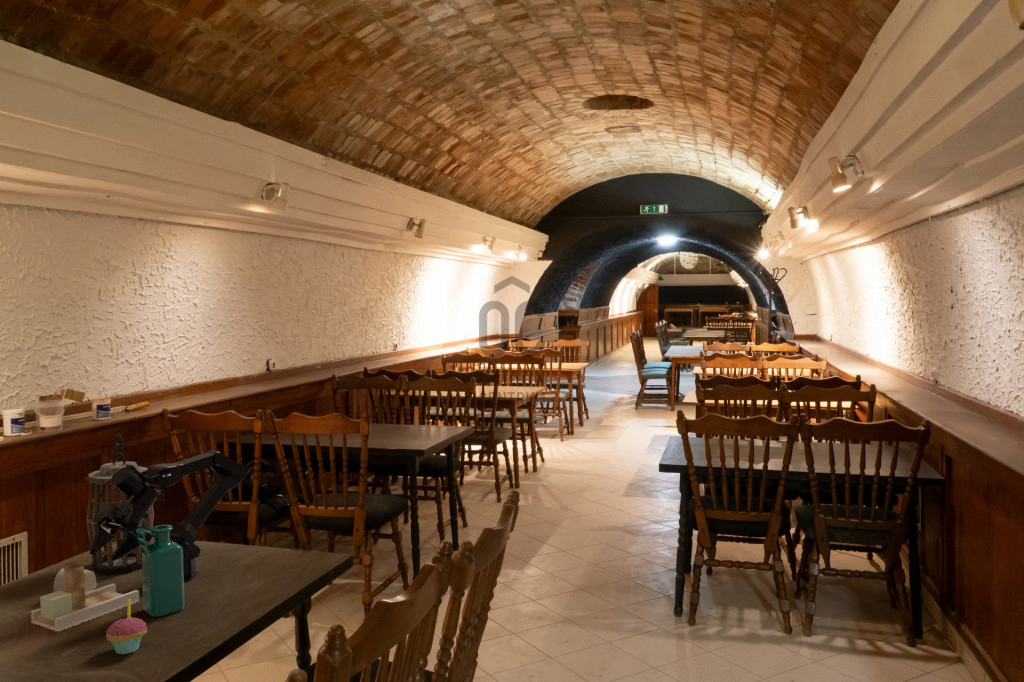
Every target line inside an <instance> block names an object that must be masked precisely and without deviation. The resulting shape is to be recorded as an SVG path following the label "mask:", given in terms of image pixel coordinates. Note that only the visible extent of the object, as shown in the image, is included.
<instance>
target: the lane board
mask: <svg viewBox="0 0 1024 682" xmlns="http://www.w3.org/2000/svg"><path fill="white" fill-rule="evenodd" d="M105 592H109V593H113V594H116V595H119V596H118V597H115V598H112V599H109V600H106V601H104V602H101V603H98V604H95V605H92V606H89V607H87V608H84V609H81V610H78V611H75V612H73V613H70V614H67V615H64V616H61V617H58V618H56V619H54V625H51V624H48V623H45V622H42V621H39V620H37V616H38V615H41V607H38V608H37V609H33V610H31V611H30V614H31V615H30V618H31V620H30V621H31V624H33V623H34V624H33V625H36V624H37V625H36V626H38V625H40V626H39V627H41V626H43V627H42V628H44V627H46V628H45V629H47V628H49V629H48V630H50V629H51V631H53V630H55V631H54V632H56V631H57V632H56V633H59V632H62V631H64V629H65V630H67V629H70V628H73V627H75V626H78V625H81V624H83V623H82V622H84V623H86V622H88V620H89V621H91V619H92V620H94V619H96V617H97V618H100V617H102V616H105V615H108V614H111V613H113V612H116V611H118V609H119V610H121V609H123V607H124V608H126V606H127V607H128V599H129V595H130V599H131V604H132V605H134V603H135V604H137V603H136V602H138V603H139V602H140V591H139V590H137V589H135V590H132V591H130V592H127V593H120V592H117V584H116V583H110V584H108V585H104V586H101V587H98V588H94V590H92V591H89V592H86V593H85V599H87V598H90V597H93V596H96V595H99V594H102V593H105ZM110 612H111V613H110ZM104 614H105V615H104ZM99 616H100V617H99ZM93 618H94V619H93ZM85 621H86V622H85ZM80 623H81V624H80ZM72 626H73V627H72ZM61 630H62V631H61ZM58 631H59V632H58Z"/></svg>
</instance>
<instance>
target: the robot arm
mask: <svg viewBox="0 0 1024 682" xmlns="http://www.w3.org/2000/svg"><path fill="white" fill-rule="evenodd" d="M146 468H147V470H145V471H143V472H139V471H138V470H137V469H136V468H135V467H134V466H133V465H129V464H127V466H126V467H125V468H122V469H120V470H119V471H118V472H117V473H115V474H114V475H113V476H112V478H111V486H113V487H114V488H115V487H116V488H117V489H118V490H119V491H121V492H122V493H123V494H124V495H126V497H129V499H128V500H129V501H128V503H125V502H119V503H118V504H117V505H115V504H110V503H105V502H103V503H102V505H100V508H99V510H98V514H105V515H107V516H103V515H98V516H95V518H94V519H93V520H92V522H91V523H93V527H94V528H95V537H94V540H93V543H92V546H91V545H90V550H89V555H91V556H92V555H94V554H95V553H96V552H98V551H99V550H100V549H101V550H102V548H104V545H105V544H107V543H108V542H109V541H110V540H111V539H114V538H115V537H114V535H115V534H116V533H117V531H120V532H123V539H122V541H121V542H120V544H119V546H118V547H117V546H116V549H115V551H113V552H114V554H113V556H112V558H111V559H112V560H113V561H115V560H117V559H118V558H120V557H122V556H123V555H125V554H126V553H128V552H130V551H131V550H133V549H135V548H137V547H138V546H139V544H138V541H137V535H136V529H137V528H143V529H145V530H147V531H150V530H149V529H147V528H146V527H145V526H144V525H142V524H140V522H141V523H142V521H141V520H142V519H143V518H144V519H147V518H148V515H147V514H146V513H147V512H148V510H149V509H150V508H151V506H152V505H153V506H154V503H155V502H156V501H162V502H164V501H165V495H164V490H160V489H157V488H156V487H158V488H165V489H166V488H168V487H171V486H173V485H175V484H176V483H178V482H179V481H180V480H181V478H184V477H185V476H188V475H191V474H194V473H197V472H199V471H203V470H205V469H208V468H210V469H211V470H213V471H214V473H213V476H212V483H211V484H210V485H209V487H208V488H207V490H206V491H205V492H204V493H203V495H202V496H201V497H200V498H199V500H198V501H197V502H196V503H195V504H194V506H193V507H192V508H191V510H190V511H189V512H188V513H187V515H186V516H185V517H184V519H183V520H182V521H181V522H178V523H176V522H171V523H170V524H169V525H171V526H173V529H172V530H170V531H169V537H170V541H173V542H175V543H177V544H179V545H181V546H182V549H183V575H184V582H189V581H191V580H193V579H194V578H195V577H196V576H197V575H199V571H197V565H196V564H197V559H196V558H198V557H200V553H201V548H200V547H199V546H198V545H197V544H195V542H196V540H197V534H198V533H197V532H198V530H199V528H200V527H201V526H202V525H203V523H204V522H205V520H206V519H208V517H209V515H210V514H211V513H212V512H213V510H214V509H215V507H216V506H217V505H218V503H219V502H220V501H221V500H222V499H223V497H224V496H225V495H226V494H227V492H228V491H230V490H232V489H234V488H235V487H238V485H239V484H240V483H241V482H242V481H243V480H244V479H245V478H246V476H247V470H246V469H247V468H246V467H245V464H243V463H242V462H238V461H236V460H234V459H232V458H230V457H228V456H227V455H225V454H224V453H222V452H221V451H217V450H207V451H206V452H204V453H200V454H198V455H194V456H192V457H189V458H185V459H182V460H180V461H176V462H171V463H167V462H166V463H158V464H151V465H149V466H148V467H146ZM145 482H146V483H148V484H149V486H148V485H146V484H145ZM132 495H133V496H132ZM130 496H132V497H131V498H130ZM108 516H110V518H109V517H108ZM113 520H114V521H115V522H114V521H113ZM119 527H120V528H119ZM152 539H153V536H152V535H150V534H145V540H146V543H149V541H150V540H151V541H152Z"/></svg>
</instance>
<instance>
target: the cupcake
mask: <svg viewBox="0 0 1024 682" xmlns="http://www.w3.org/2000/svg"><path fill="white" fill-rule="evenodd" d="M131 606H132V605H131V599H130V595H129V599H128V606H127V610H126V611H127V612H126V613H127V615H126V617H125V618H122V619H121V618H120V619H118V620H116V621H114V622H113V623H112V624H111V625H110V626H109V627H108V628H107V629H106V631H105V632H106V634H105V637H106V640H107V642H110V643H111V644H112V646H113V648H114V651H115V653H116V654H119V655H128V654H131V652H132V653H134V652H136V651H138V649H139V648H140V644H141V640H142V638H143V636H145V635H146V634H147V631H148V628H147V622H145V621H144V620H143V619H141V618H138V617H133V616H131V614H132V613H131V609H132V608H131Z"/></svg>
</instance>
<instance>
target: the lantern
mask: <svg viewBox="0 0 1024 682" xmlns="http://www.w3.org/2000/svg"><path fill="white" fill-rule="evenodd" d="M117 438H119V439H120V442H118V443H117ZM112 442H113V446H114V449H113V450H114V455H113V457H112V462H109V463H108V462H107V463H104V464H102V465H101V466H100V468H99V470H95V471H93V472H91V473H90V472H89V473H88V476H86V477H84V478H82V479H81V480H82V481H87V482H89V494H88V503H87V510H86V511H87V512H86V526H87V527H86V528H87V535H88V541H89V545H90V547H91V546H92V543H93V540H94V537H95V528H94V527H93V523H91V522H92V520H93V519H94V518H95V516H98V515H103V516H107V515H105V514H98V513H99V510H100V508H99V507H100V506H101V505H102V503H103V502H105V503H110V504H115V505H117V504H118V503H119V502H125V503H128V501H129V500H130V498H131V497H132V496H133V495H132V496H129V499H127V496H126V495H124V494H123V493H122V492H121V491H119V490H118V489H117V488H116V487H115V486H114V490H113V491H112V484H111V478H112V476H113V475H114V474H115V473H117V472H118V471H119V470H120V469H122V468H125V467H126V466H127V464H129V465H133V466H134V467H135V468H136V469H137V470H138V471H139V472H143V471H145V470H147V468H148V467H143V466H139V465H138V464H137V462H136V461H128V460H127V461H126V458H125V455H124V447H123V445H124V438H123V436H122V435H121V434H120V433H117V434H115V435H114V436H113V441H112ZM118 449H119V450H120V451H119V452H118ZM116 458H121V459H122V461H116ZM145 484H146V485H148V486H150V485H149V484H148V483H146V482H145ZM112 495H114V499H115V500H113V501H112ZM146 514H147V515H148V518H147V519H144V518H143V519H142V520H141V522H140V524H142V525H144V526H145V527H146V528H147V529H149V530H151V528H153V527H154V518H155V511H154V504H153V505H152V506H151V508H150V509H149V510H148V512H147V513H146ZM108 517H109V518H110V517H111V516H108ZM110 519H111V518H110ZM113 521H114V520H113ZM114 522H115V521H114ZM119 528H120V527H119ZM115 534H116V535H115V537H116V538H112V539H111V540H110V541H109V542H108V543H107V544H105V545H104V546H103V550H102V548H101V549H100V550H99V551H98V552H96V553H95V554H94V555H91V571H92V572H94V574H97V573H98V575H101V574H102V576H103V575H104V576H108V575H109V576H110V574H118V575H122V574H121V573H124V574H128V573H127V572H130V573H133V572H132V571H135V572H137V571H136V570H138V571H140V570H139V569H141V570H142V550H143V549H142V548H141V547H140V546H138V547H137V548H135V549H133V550H131V551H130V552H128V553H126V554H125V555H123V556H122V557H120V558H118V559H117V560H115V561H113V560H112V559H111V558H112V556H113V554H114V552H115V551H113V543H115V542H116V548H117V547H118V546H119V544H120V542H121V541H122V539H123V532H120V531H117V533H115ZM149 544H152V539H151V540H150V541H149V543H146V545H149ZM106 574H107V575H106Z"/></svg>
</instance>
